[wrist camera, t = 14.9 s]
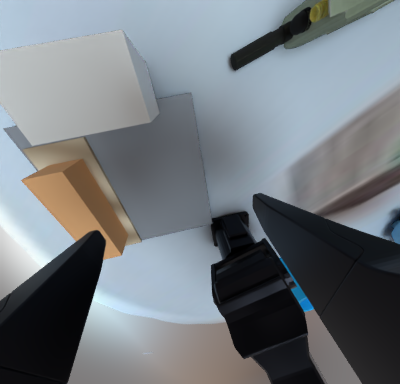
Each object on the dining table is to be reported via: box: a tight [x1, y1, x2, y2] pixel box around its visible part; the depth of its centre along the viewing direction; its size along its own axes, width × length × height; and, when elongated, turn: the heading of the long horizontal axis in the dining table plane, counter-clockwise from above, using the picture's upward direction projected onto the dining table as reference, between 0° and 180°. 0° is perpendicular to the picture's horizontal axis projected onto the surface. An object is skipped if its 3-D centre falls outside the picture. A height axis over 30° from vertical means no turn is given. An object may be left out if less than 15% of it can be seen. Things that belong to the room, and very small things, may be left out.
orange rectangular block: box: [21, 159, 128, 260], centre depth 18 cm, size 12×4×4 cm, turn 9°
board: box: [4, 93, 212, 240], centre depth 20 cm, size 18×18×1 cm
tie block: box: [0, 30, 160, 146], centre depth 11 cm, size 4×7×7 cm, turn 99°
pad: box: [22, 137, 142, 246], centre depth 20 cm, size 16×6×1 cm, turn 9°
